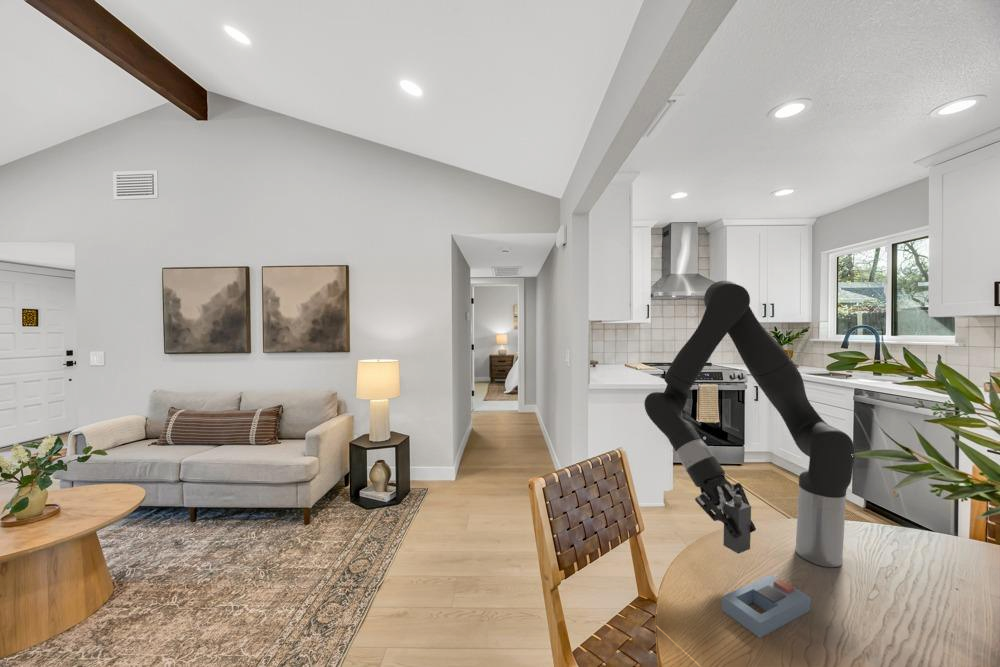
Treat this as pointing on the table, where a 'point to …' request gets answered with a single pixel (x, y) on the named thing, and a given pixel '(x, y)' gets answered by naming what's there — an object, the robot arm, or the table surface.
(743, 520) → the black plug
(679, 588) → the table surface
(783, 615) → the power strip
